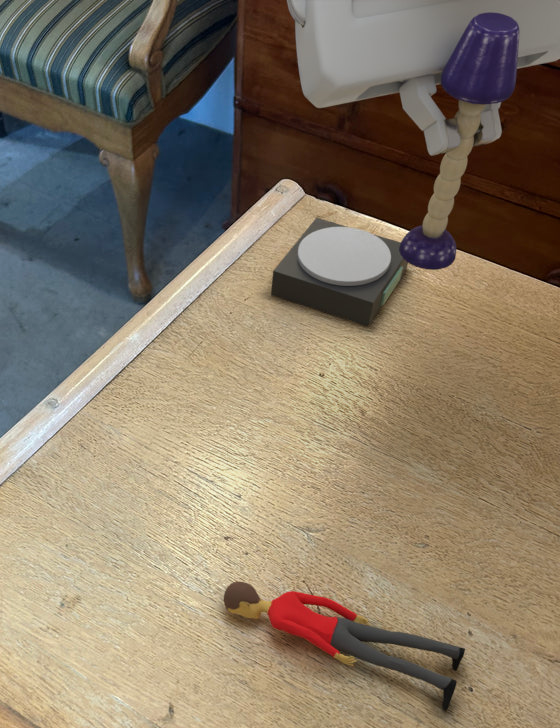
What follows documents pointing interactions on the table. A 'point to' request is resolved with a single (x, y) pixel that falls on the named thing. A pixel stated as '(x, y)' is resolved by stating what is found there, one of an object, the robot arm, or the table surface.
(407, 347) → the table surface
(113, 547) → the table surface
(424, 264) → the toy lamp
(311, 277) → the kitchen scale
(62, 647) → the table surface
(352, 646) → the person figure
